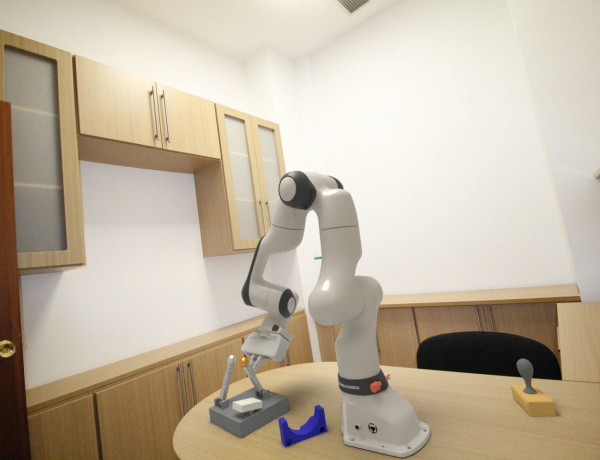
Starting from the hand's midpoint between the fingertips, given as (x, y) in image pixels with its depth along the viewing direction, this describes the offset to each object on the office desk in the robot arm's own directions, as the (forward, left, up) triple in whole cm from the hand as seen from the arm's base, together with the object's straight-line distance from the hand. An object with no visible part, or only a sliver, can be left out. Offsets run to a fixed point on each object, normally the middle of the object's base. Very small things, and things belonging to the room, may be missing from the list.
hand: (252, 370), depth 102 cm
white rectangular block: (-5, +6, -7) cm, 11 cm away
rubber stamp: (-66, -40, -14) cm, 78 cm away
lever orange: (0, -3, -8) cm, 9 cm away
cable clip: (-22, +1, -14) cm, 26 cm away
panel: (+1, +2, -13) cm, 14 cm away
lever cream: (+7, +8, -8) cm, 14 cm away
